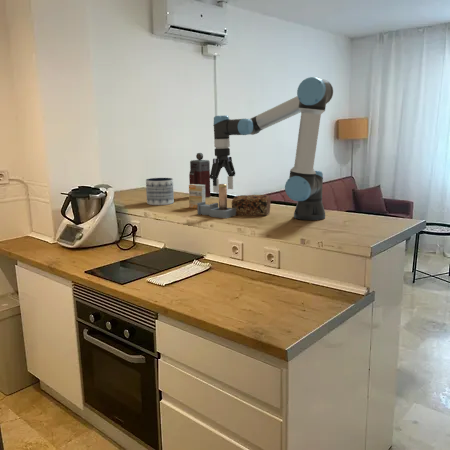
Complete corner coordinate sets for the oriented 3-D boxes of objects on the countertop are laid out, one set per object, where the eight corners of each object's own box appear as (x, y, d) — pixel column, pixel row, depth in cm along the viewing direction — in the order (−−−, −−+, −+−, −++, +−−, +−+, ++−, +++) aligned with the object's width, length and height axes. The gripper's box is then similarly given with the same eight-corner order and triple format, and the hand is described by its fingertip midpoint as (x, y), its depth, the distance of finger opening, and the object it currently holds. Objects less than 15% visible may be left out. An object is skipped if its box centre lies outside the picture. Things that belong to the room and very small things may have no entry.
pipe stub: (221, 214, 239) (221, 183, 235) (228, 215, 237) (228, 184, 233) (217, 216, 235) (216, 184, 232) (224, 216, 233) (223, 185, 230)
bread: (270, 212, 243) (270, 193, 241) (266, 216, 233) (266, 196, 231) (236, 211, 249) (236, 192, 246) (230, 215, 239) (230, 195, 236)
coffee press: (188, 197, 298) (186, 153, 292) (200, 195, 306) (199, 152, 300) (198, 198, 292) (196, 153, 286) (210, 196, 300) (209, 152, 295)
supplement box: (188, 208, 259) (188, 184, 257) (192, 206, 264) (192, 183, 261) (202, 209, 256) (201, 185, 254) (206, 207, 261) (205, 184, 258)
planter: (179, 202, 280) (178, 178, 277) (162, 206, 267) (161, 181, 264) (158, 200, 288) (157, 177, 285) (141, 204, 275) (140, 179, 272)
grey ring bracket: (205, 211, 247) (205, 201, 246) (236, 215, 237) (236, 203, 236) (195, 215, 239) (195, 203, 238) (226, 218, 230) (226, 206, 228)
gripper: (228, 146, 241) (230, 187, 245) (201, 149, 220) (203, 193, 225) (241, 146, 237) (242, 187, 241) (214, 149, 217) (216, 194, 221)
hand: (223, 190), depth 233 cm, fingers open, 13 cm apart
